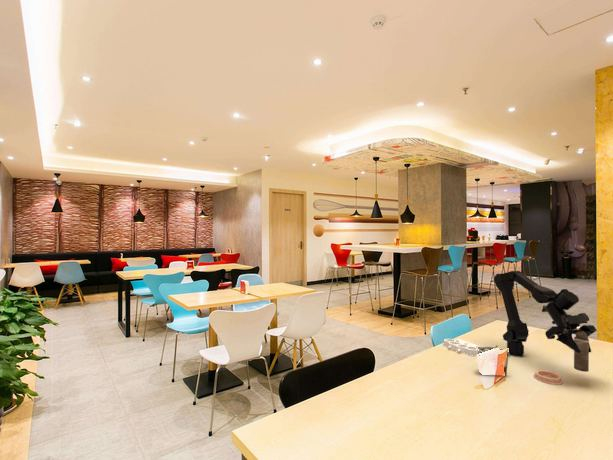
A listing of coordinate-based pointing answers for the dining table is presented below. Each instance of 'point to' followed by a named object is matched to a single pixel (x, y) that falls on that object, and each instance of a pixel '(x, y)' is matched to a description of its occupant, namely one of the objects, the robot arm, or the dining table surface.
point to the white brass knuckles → (462, 346)
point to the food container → (492, 348)
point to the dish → (548, 377)
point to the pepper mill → (581, 352)
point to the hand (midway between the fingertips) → (584, 352)
